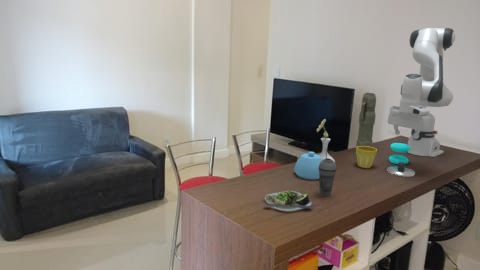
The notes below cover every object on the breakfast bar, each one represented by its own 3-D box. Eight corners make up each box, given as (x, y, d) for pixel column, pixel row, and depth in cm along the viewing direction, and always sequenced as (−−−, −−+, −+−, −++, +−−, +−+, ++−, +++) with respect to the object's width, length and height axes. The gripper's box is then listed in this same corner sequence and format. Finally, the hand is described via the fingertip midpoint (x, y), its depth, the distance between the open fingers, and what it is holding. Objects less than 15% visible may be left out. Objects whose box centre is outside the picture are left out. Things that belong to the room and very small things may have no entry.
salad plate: (274, 218, 131) (274, 206, 130) (253, 199, 147) (253, 188, 146) (319, 210, 138) (320, 199, 137) (295, 193, 154) (295, 182, 153)
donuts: (388, 144, 195) (394, 141, 203) (385, 162, 198) (391, 158, 205) (407, 148, 189) (413, 144, 196) (405, 166, 191) (410, 162, 199)
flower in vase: (318, 159, 200) (321, 114, 194) (338, 163, 193) (342, 117, 187) (307, 165, 189) (311, 118, 183) (328, 170, 183) (332, 121, 177)
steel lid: (397, 167, 191) (398, 157, 190) (420, 174, 180) (422, 164, 179) (381, 170, 185) (382, 161, 183) (403, 179, 174) (405, 168, 173)
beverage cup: (330, 199, 148) (334, 152, 143) (313, 195, 152) (317, 149, 147) (336, 193, 154) (340, 148, 149) (319, 189, 158) (323, 145, 153)
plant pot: (372, 163, 195) (374, 146, 193) (377, 170, 185) (379, 151, 183) (352, 162, 196) (354, 145, 194) (356, 168, 186) (358, 150, 184)
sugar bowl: (288, 175, 175) (289, 152, 172) (305, 167, 186) (306, 146, 183) (315, 183, 165) (316, 159, 162) (331, 175, 176) (333, 152, 173)
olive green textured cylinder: (351, 152, 215) (357, 93, 206) (360, 148, 223) (366, 91, 215) (366, 155, 209) (372, 95, 201) (374, 151, 217) (381, 93, 209)
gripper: (386, 105, 182) (383, 132, 185) (424, 112, 165) (420, 141, 168) (394, 105, 185) (391, 131, 188) (433, 111, 168) (428, 140, 171)
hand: (405, 136), depth 178 cm, fingers open, 8 cm apart
